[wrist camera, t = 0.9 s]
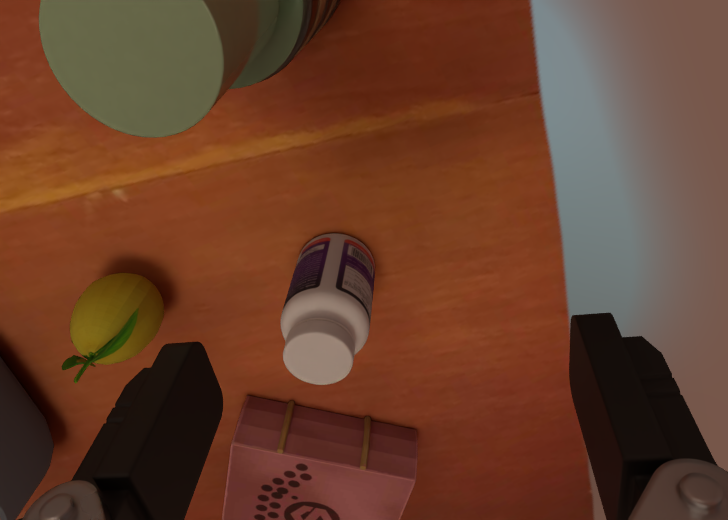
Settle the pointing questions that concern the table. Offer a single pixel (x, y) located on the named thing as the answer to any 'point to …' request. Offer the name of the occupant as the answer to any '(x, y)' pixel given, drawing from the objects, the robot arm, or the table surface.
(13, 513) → the small trash can
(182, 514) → the robot arm
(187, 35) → the ring spool
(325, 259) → the pill bottle
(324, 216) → the table surface
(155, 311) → the lemon
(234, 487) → the book
